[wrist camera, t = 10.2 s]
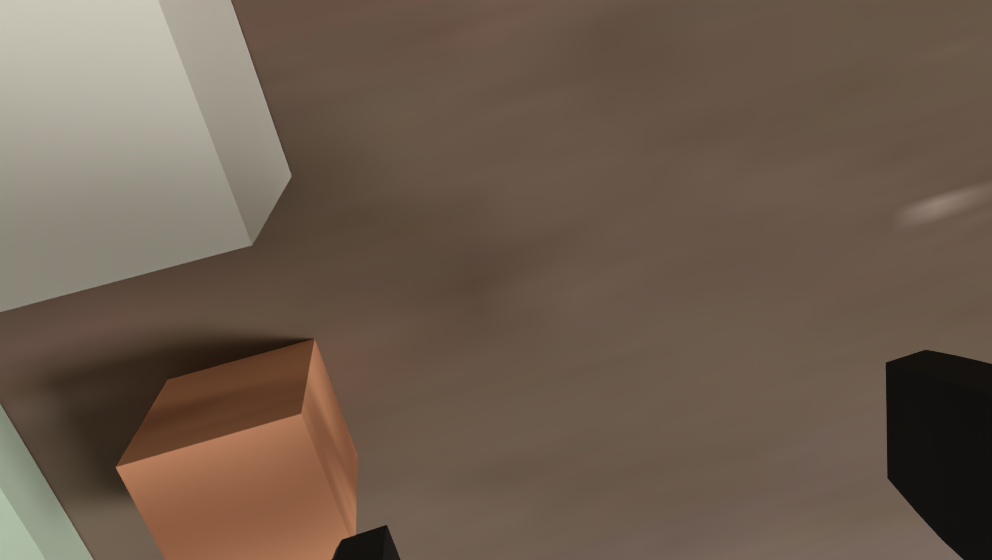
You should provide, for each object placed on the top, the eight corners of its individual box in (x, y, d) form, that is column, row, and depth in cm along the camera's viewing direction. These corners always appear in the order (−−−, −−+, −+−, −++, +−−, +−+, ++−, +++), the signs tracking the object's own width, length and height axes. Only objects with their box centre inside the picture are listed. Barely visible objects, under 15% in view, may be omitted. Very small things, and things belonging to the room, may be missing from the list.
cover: (291, 175, 16) (252, 245, 11) (54, 237, 16) (-116, 342, 10) (202, -82, 14) (96, -161, 9) (-76, -21, 14) (-378, -64, 8)
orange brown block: (357, 454, 20) (355, 551, 16) (223, 494, 19) (189, 603, 15) (314, 337, 18) (301, 413, 14) (168, 378, 18) (115, 467, 14)
